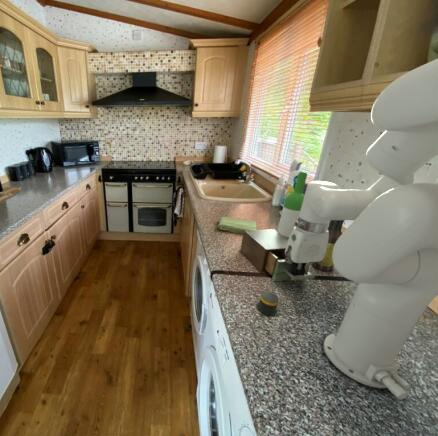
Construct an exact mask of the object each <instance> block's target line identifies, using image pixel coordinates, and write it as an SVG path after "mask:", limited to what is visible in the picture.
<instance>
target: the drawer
mask: <svg viewBox="0 0 438 436" xmlns="http://www.w3.org/2000/svg"><path fill="white" fill-rule="evenodd" d="M285 258H286V255H285V250H280V251H268V253H267V257H266V261H265V265H264V268H265V269H266V270H267V271H268V272H267V273H268V274H269V275H270V276H272V278H271V279H272V281H273V282H279V281H303V280H314V279H315V278H316V276H315V274H313V273H311V272H309V269H310V266H311V264H310V265H309V267H308V268H307V269H305V272H304V275H295V276H293V275H292V274H291V271H292V267H293V265H292V264H288V263H286V262H285V261H284V260H285Z"/></svg>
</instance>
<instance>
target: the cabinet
mask: <svg viewBox="0 0 438 436" xmlns="http://www.w3.org/2000/svg"><path fill="white" fill-rule="evenodd" d="M288 240H289V239H287V238H286V237H284V236H283V235H281V234H280V233H278V232H277V230H276V229H274V228H269V229H268V228H266V229H257V230H248V231H244V233H243V234H242V239H241V245H240V252H241V254H242V255H243V256H244V257H245V258H247V260H248V261H249V262H250V263H251V264H252V265H254V267H255V268H256V269H257V270H258V271H259V272H260V273H264V272H265V273H266V272H267V273H269V272H268V271H267V270H266V269H265V268H264V265H265V261H266V257H267V253H268V251H280V250H285V249H286V246H287V242H288Z"/></svg>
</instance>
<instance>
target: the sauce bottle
mask: <svg viewBox="0 0 438 436" xmlns="http://www.w3.org/2000/svg"><path fill="white" fill-rule="evenodd" d="M345 221H346V220H330V223H329V226H328V229H327V230H328V231H329V238H328V244H327V248H326V252H325V255H324V258H323V260H321V261H318V262H312V265H313V266H314V267H315V268H316V269H319V270H321V271H332V270H333V268H334V264H333V261H332V252H333V248H334V245H335V243H336V241H337V240H338V238H339V237H340V236H341V234H342V233H343V232H342V228H343V226H344V225H343V224H344V223H345Z"/></svg>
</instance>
